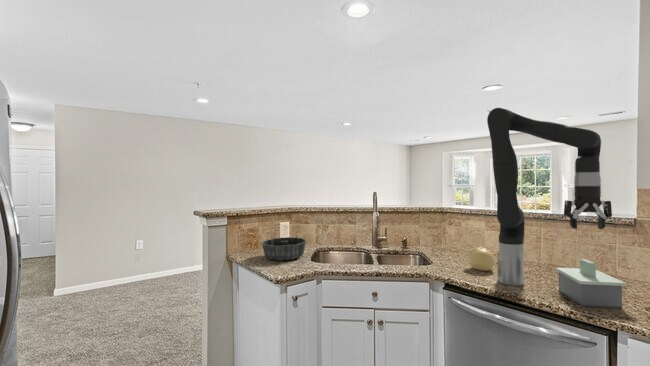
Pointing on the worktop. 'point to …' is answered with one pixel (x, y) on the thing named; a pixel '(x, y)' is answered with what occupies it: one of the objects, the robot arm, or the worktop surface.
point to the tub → (591, 293)
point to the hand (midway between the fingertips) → (587, 228)
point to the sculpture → (481, 259)
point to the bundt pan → (284, 248)
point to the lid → (589, 274)
